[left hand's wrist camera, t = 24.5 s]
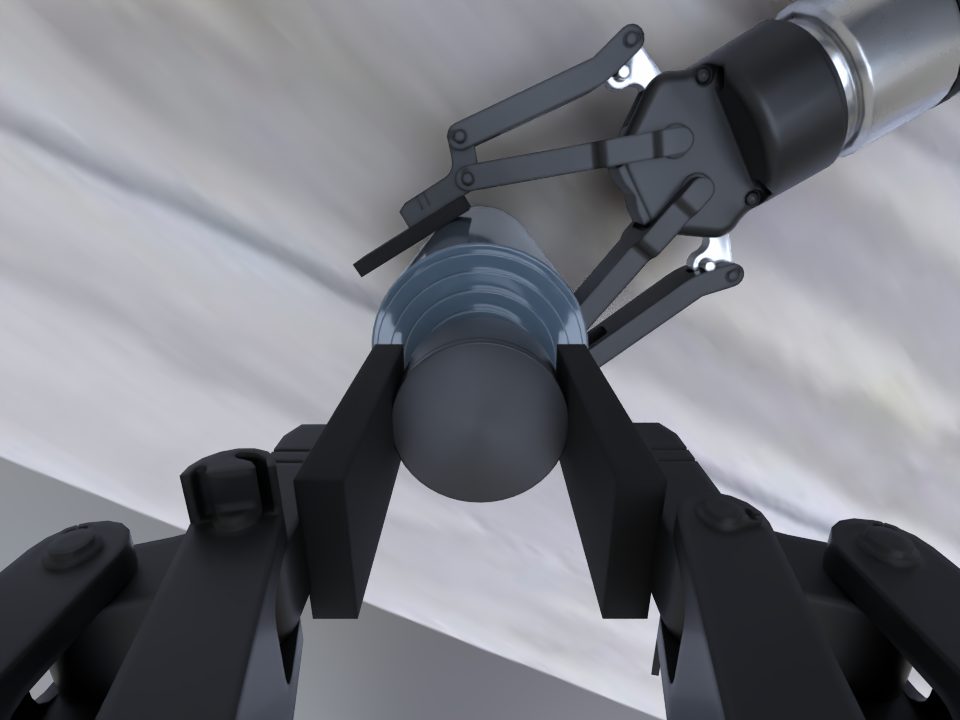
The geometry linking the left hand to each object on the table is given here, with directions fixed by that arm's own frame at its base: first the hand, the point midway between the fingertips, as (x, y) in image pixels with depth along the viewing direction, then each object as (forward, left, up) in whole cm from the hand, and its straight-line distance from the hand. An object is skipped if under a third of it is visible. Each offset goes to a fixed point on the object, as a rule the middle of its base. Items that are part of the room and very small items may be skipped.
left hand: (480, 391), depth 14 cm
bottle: (0, 0, -21) cm, 21 cm away
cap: (0, 0, +2) cm, 2 cm away
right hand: (+4, -3, -15) cm, 15 cm away
